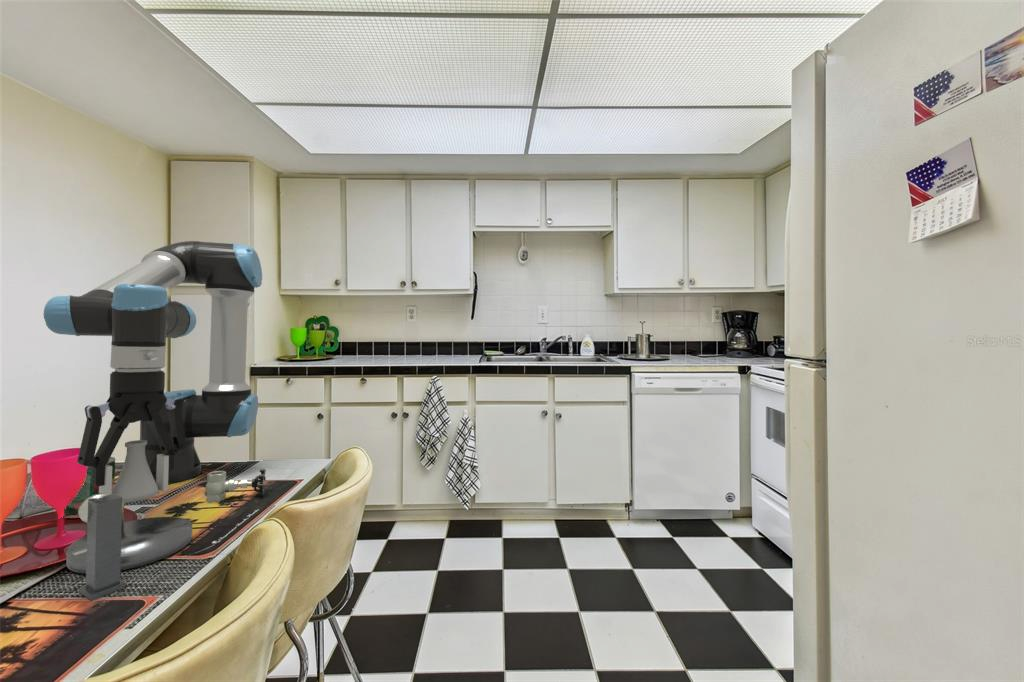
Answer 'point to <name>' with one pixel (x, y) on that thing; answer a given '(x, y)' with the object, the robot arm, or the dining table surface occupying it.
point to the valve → (230, 485)
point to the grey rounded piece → (139, 542)
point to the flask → (135, 475)
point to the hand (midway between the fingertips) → (134, 496)
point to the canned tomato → (87, 490)
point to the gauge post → (102, 544)
